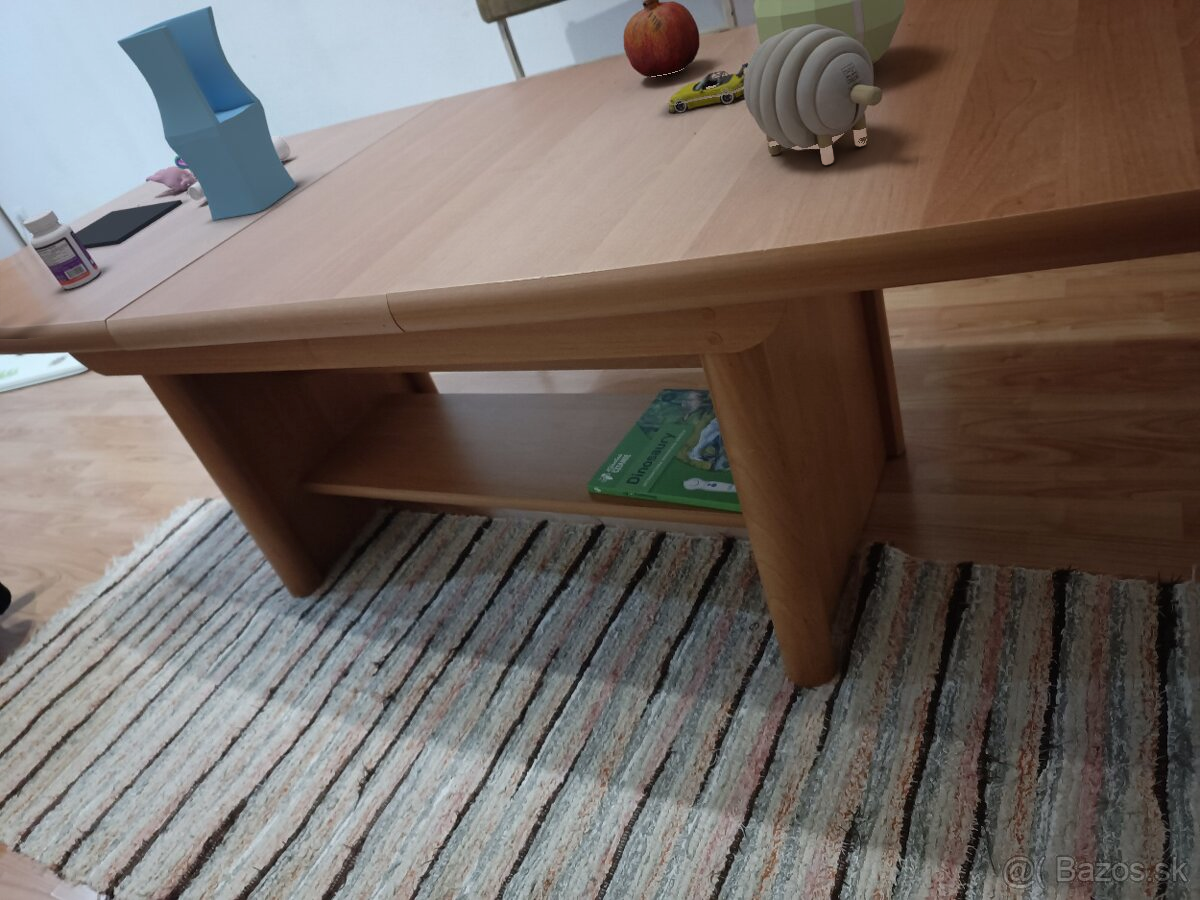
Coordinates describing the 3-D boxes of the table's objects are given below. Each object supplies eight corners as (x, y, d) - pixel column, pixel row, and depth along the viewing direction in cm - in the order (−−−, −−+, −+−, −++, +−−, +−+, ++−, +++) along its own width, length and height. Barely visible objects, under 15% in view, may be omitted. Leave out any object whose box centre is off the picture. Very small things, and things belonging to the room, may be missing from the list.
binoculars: (296, 157, 145) (282, 130, 142) (240, 198, 133) (224, 169, 131) (248, 168, 149) (234, 141, 146) (190, 208, 137) (174, 180, 135)
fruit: (709, 74, 113) (692, -8, 107) (635, 97, 115) (615, 17, 109) (700, 55, 122) (684, -22, 116) (632, 77, 123) (612, 2, 117)
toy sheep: (795, 122, 90) (778, 8, 84) (932, 136, 77) (924, 3, 71) (720, 164, 87) (696, 49, 80) (849, 186, 74) (833, 52, 67)
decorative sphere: (879, 98, 88) (864, -66, 80) (747, 111, 97) (720, -35, 88) (925, 46, 97) (915, -106, 89) (799, 63, 106) (779, -75, 97)
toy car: (675, 101, 108) (670, 76, 106) (754, 85, 104) (750, 60, 102) (664, 116, 104) (658, 91, 103) (746, 100, 100) (741, 74, 98)
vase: (261, 212, 123) (161, 27, 109) (212, 220, 127) (109, 43, 113) (301, 182, 130) (211, 5, 116) (253, 191, 134) (161, 21, 120)
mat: (49, 253, 141) (47, 250, 141) (113, 214, 151) (111, 211, 150) (119, 243, 133) (116, 240, 132) (182, 203, 142) (180, 199, 142)
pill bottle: (78, 275, 125) (34, 212, 119) (108, 267, 123) (65, 203, 118) (55, 293, 121) (8, 229, 115) (86, 285, 119) (40, 220, 113)
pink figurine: (232, 182, 150) (165, 181, 155) (217, 149, 146) (150, 148, 151) (208, 198, 145) (141, 196, 150) (193, 164, 142) (124, 162, 147)
